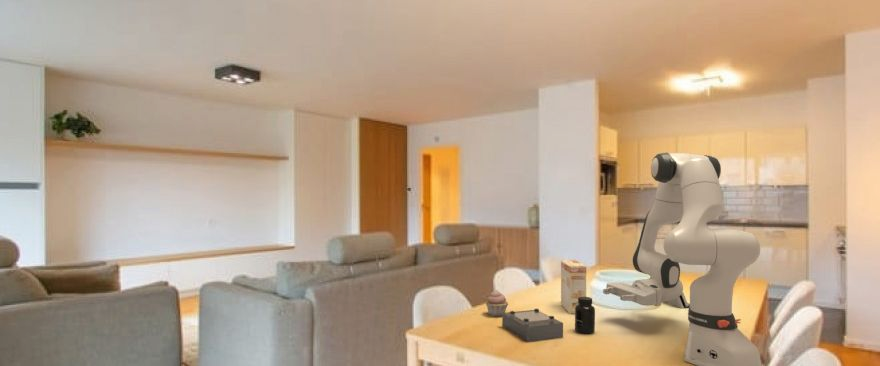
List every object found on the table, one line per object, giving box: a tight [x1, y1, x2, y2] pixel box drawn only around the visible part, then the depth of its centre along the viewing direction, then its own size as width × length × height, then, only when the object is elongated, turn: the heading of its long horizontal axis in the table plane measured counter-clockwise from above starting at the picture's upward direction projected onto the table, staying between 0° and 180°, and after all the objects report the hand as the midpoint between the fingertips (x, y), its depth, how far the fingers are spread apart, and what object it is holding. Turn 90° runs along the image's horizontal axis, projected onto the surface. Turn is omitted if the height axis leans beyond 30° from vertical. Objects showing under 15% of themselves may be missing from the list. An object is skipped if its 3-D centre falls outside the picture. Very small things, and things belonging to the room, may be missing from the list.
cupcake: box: [485, 289, 509, 318], centre depth 190 cm, size 9×9×10 cm
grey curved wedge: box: [663, 291, 690, 309], centre depth 207 cm, size 17×5×10 cm, turn 11°
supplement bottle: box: [574, 296, 596, 335], centre depth 168 cm, size 7×7×12 cm
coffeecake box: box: [560, 259, 587, 315], centre depth 198 cm, size 15×7×20 cm, turn 179°
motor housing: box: [501, 308, 564, 343], centre depth 169 cm, size 21×14×6 cm, turn 19°
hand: (612, 294), depth 173 cm, fingers open, 8 cm apart
